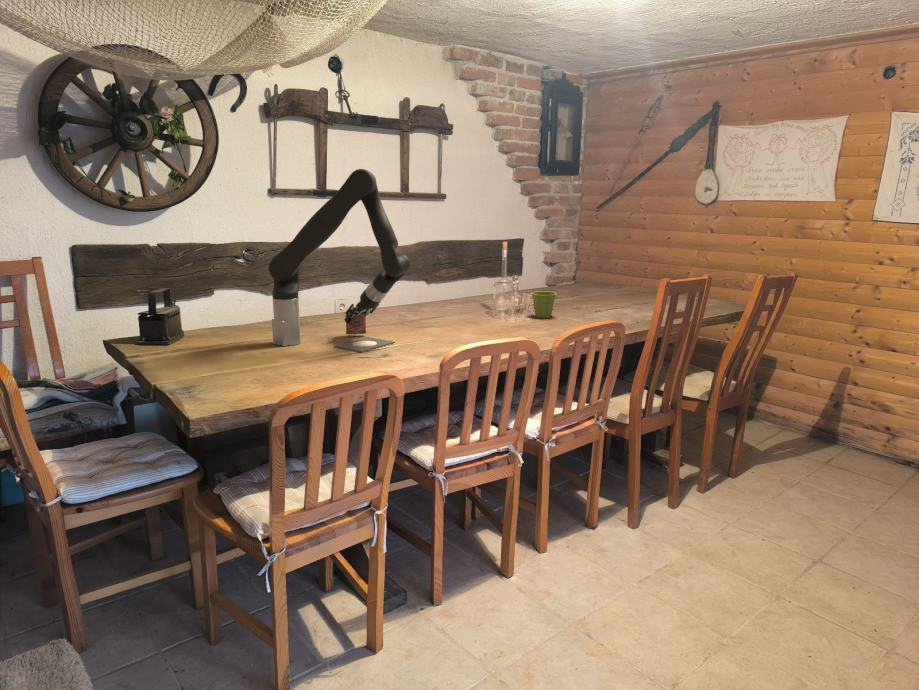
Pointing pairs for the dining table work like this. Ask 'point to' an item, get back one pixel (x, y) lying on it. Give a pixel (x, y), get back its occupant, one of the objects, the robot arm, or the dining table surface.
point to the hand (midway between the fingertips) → (353, 320)
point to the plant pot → (543, 303)
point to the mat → (363, 344)
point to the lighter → (356, 324)
